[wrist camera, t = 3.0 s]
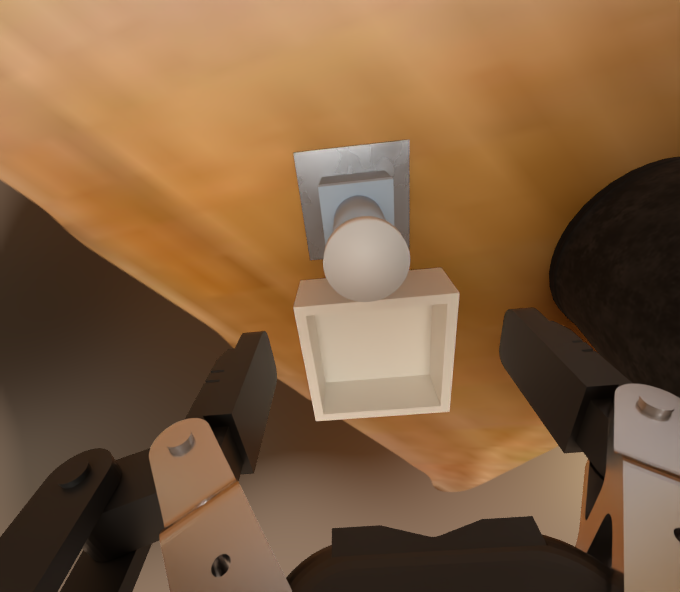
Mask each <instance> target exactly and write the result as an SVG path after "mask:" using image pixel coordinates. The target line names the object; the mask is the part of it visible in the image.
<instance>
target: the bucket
mask: <svg viewBox="0 0 680 592" xmlns="http://www.w3.org/2000/svg"><path fill="white" fill-rule="evenodd" d="M549 280H550V290H551V293H552V296H553V300H554V301H555V303H556V305H557V306H558V308H559V309H560V310H561V311H562V312H563V313H564V314H565V316H566V317H567V318H568V319H569V320H571V321H572V322H573V323H575V325H576V326H577V327H578V328H579V330H580V331H581V332H582V333H583V335H584V336H585V337H586V338H587V340H588V341H589V342H590V343H591V345H592V346H593V347H594V348H595V349H596V351H597V352H598V353H599V354H600V356H602V357H603V358H604V359H605V360H606V361H607V362H609V363H610V364H611V365H612V366H613V367H614V368H616V369H617V370H618V371H619V372H620V373H621V374H623V375H624V376H625V377H626V378H627V379H628V380H630V381H631V382H632V383H633V384H643V385H648V386H653V387H656V388H659V389H662V390H664V391H667V392H669V393H671V394H673V395H675V396H677V397H679V398H680V157H674V158H667V159H662V160H659V161H656V162H652V163H649V164H647V165H644V166H642V167H640V168H637V169H635V170H632V171H631V172H629V173H627V174H625V175H624V176H622V177H620V178H619V179H617V180H615V181H613V182H612V183H610V184H609V185H608V186H606V187H605V188H604V189H602V190H601V191H600V192H598V193H597V194H596V195H595V196H594V197H593V198H592V199H591V200H590V201H588V202H587V203H586V204H585V205H584V206H583V207H582V209H581V210H580V211H579V212H578V213H577V215H576V216H575V217H574V218H573V219H572V220H571V222H570V223H569V224H568V226H567V228H566V229H565V231H564V232H563V234H562V236H561V238H560V240H559V242H558V244H557V246H556V248H555V251H554V254H553V257H552V260H551V266H550V271H549Z"/></svg>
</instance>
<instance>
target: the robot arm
mask: <svg viewBox="0 0 680 592" xmlns="http://www.w3.org/2000/svg"><path fill="white" fill-rule="evenodd" d="M499 354H500V359H501V362H502V364H503V366H504V368H505V369H506V371H507V372H508V374H509V375H510V376H511V378H512V379H513V381H514V382H515V384H516V385H517V386H518V388H519V389H520V391H521V392H522V394H523V395H524V396H525V398H526V399H527V401H528V402H529V404H530V405H531V406H532V408H533V409H534V411H535V412H536V414H537V415H538V416H539V418H540V419H541V421H542V422H543V424H544V425H545V427H546V428H547V429H548V431H549V432H550V434H551V435H552V437H553V438H554V439H555V441H556V442H557V444H558V445H559V447H560V448H561V449H562V451H563V452H564V453H574V452H584V454H585V455H586V456H587V458H588V460H587V463H586V466H585V475H584V486H583V496H582V507H581V518H580V527H579V533H578V538H577V542H576V546H575V547H574V546H572V545H570V544H568V543H566V542H563V541H561V540H558V539H555V538H552V537H549V536H546V535H542V534H541V532H540V531H539V528H538V526H537V524H536V523H535V521H534V519H533V517H532V516H528V517H512V518H495V519H482V520H479V521H476V522H474V523H472V524H469V525H466V526H464V527H461V528H459V529H456V530H453V531H451V532H448V533H446V534H443V535H441V536H437V537H428V536H423V535H420V534H415V533H411V532H406V531H402V530H398V529H393V528H389V527H385V526H363V527H347V528H333V529H332V545H330V546H328V547H326V548H323V549H321V550H319V551H317V552H316V553H314V554H312V555H311V556H309V557H308V558H307V559H305V560H304V561H303V562H301V563H300V564H299V565H298V566H297V567H296V568H295V569H294V570H293V571H292V572H291V573H290V574H289V575H288V576H287V577H285V575H284V574H283V571H282V569H281V567H280V565H279V563H278V561H277V559H276V557H275V555H274V553H273V551H272V549H271V547H270V545H269V543H268V541H267V539H266V537H265V535H264V533H263V531H262V529H261V527H260V525H259V523H258V521H257V519H256V517H255V515H254V513H253V511H252V508H251V507H250V504H249V502H248V500H247V499H246V496H245V494H244V493H243V491H242V488H241V486H240V484H239V482H238V481H239V478H240V474H252V473H254V471H255V467H256V463H257V459H258V455H259V451H260V447H261V443H262V439H263V435H264V431H265V427H266V423H267V419H268V415H269V411H270V407H271V403H272V398H273V395H274V391H275V387H276V382H277V371H276V365H275V361H274V357H273V353H272V350H271V346H270V342H269V338H268V335H267V333H266V332H265V331H261V332H250V333H243V334H242V335H241V337H240V339H239V341H238V343H237V345H236V347H235V349H228V350H227V351H226V352H224V353H223V354H222V355H221V356H220V357H219V358H218V359H217V360H216V362H215V364H214V366H213V368H212V370H211V373H210V374H209V375H208V377H207V379H206V383H205V384H203V387H202V388H201V390H200V392H199V394H198V396H197V397H196V400H195V401H194V403H193V405H192V407H191V409H190V411H189V413H188V414H187V416H186V418H185V420H182V421H179V422H177V423H175V424H173V425H171V426H170V427H168V428H167V429H166V430H164V431H163V432H162V433H161V434H160V435H159V436H158V437H157V438H156V440H155V441H154V442H153V444H152V446H151V448H149V449H147V450H144V451H141V452H138V453H135V454H132V455H129V456H126V457H123V458H121V459H118V460H115V459H114V457H113V456H112V454H111V453H110V452H109V451H108V450H106V449H101V448H98V449H91V450H88V451H84V452H82V453H80V454H78V455H76V456H74V457H72V458H70V459H69V460H67V461H66V462H64V463H63V464H61V465H60V466H59V467H58V468H57V469H55V470H54V471H53V472H52V473H51V474H50V475H49V476H48V477H47V479H46V480H45V481H44V482H43V484H42V485H41V486H40V487H39V489H38V490H37V491H36V492H35V494H34V495H33V496H32V498H31V499H30V500H29V501H28V503H27V504H26V505H25V506H24V508H23V509H22V510H21V511H20V513H19V514H18V515H17V517H16V518H15V519H14V520H13V522H12V523H11V524H10V525H9V527H8V528H7V529H6V531H5V532H4V533H3V534H2V536H1V537H0V592H58V590H59V588H60V586H61V584H62V583H63V581H64V579H65V577H66V576H67V574H68V572H69V570H70V569H71V567H72V565H73V563H74V561H75V560H76V558H77V556H78V555H79V553H80V551H81V549H82V548H83V552H82V554H81V555H80V557H79V559H78V561H77V562H76V564H75V566H74V568H73V570H72V571H71V573H70V575H69V577H68V578H67V580H66V582H65V584H64V586H63V587H62V589H61V591H60V592H132V591H133V589H134V586H135V584H136V581H137V579H138V576H139V574H140V571H141V569H142V567H143V564H144V561H145V559H146V556H147V554H148V552H149V549H150V547H151V544H152V543H154V542H156V541H159V540H160V546H161V551H162V555H163V560H164V565H165V570H166V575H167V580H168V584H169V589H170V592H680V398H679V397H677V396H675V395H673V394H671V393H669V392H667V391H664V390H662V389H659V388H656V387H653V386H648V385H643V384H633V383H632V382H631V381H630V380H628V379H627V378H626V377H625V376H624V375H623V374H621V373H620V372H619V371H618V370H617V369H616V368H614V367H613V366H612V365H611V364H610V363H609V362H607V361H606V360H605V359H604V358H603V357H602V356H600V355H599V354H598V353H597V352H596V351H593V349H592V348H591V347H590V346H589V345H588V344H587V343H585V342H583V341H582V339H581V338H580V337H578V336H577V335H576V334H575V333H574V332H573V331H571V330H570V329H568V328H566V327H564V326H562V325H560V324H558V323H556V322H554V321H549V320H548V319H547V318H546V317H544V316H543V315H542V314H541V313H540V312H539V311H538V310H537V309H535V308H533V307H531V308H520V309H509V310H507V311H506V313H505V316H504V321H503V328H502V334H501V340H500V347H499Z"/></svg>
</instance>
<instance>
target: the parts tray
mask: <svg viewBox="0 0 680 592" xmlns="http://www.w3.org/2000/svg"><path fill="white" fill-rule="evenodd" d="M459 294H460V293H459V291H458V290H457V289H456V287H455V286H454V284H453V283H452V282H451V280H450V279H449V278H448V276H447V275H446V273H445V272H444V271H443V269H442V268H430V269H419V270H409V271H408V274H407V277H406V278H405V280H404V282H403V283H402V285H401V286H400V287H399V288H398V289H397V290H396V291H395V292H394V293H392V294H391V295H389V296H387V297H385V298H383V299H380V300H377V301H372V302H358V301H353V300H350V299H347V298H345V297H343V296H342V295H340V294H339V293H337V292H336V291H335V290H334V289H333V288H332V287H331V285H330V284H329V282H328V280H327V279H326V278H322V279H311V280H300V284H299V288H298V292H297V296H296V299H295V303H294V307H293V308H294V313H295V318H296V323H297V329H298V334H299V339H300V344H301V349H302V354H303V359H304V364H305V369H306V374H307V379H308V384H309V389H310V394H311V399H312V404H313V409H314V414H315V419H316V421H324V420H339V419H353V418H367V417H382V416H396V415H410V414H425V413H439V412H449V411H450V399H451V388H452V376H453V364H454V352H455V341H456V329H457V317H458V305H459Z"/></svg>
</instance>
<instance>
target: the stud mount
mask: <svg viewBox="0 0 680 592" xmlns="http://www.w3.org/2000/svg"><path fill="white" fill-rule="evenodd" d="M293 154H294V160H295V167H296V173H297V179H298V186H299V192H300V198H301V205H302V211H303V217H304V224H305V230H306V237H307V243H308V249H309V256H310V260H319V259H324V251H325V246H326V245H325V237H324V230H323V222H322V214H321V207H320V199H319V191H318V186H319V183H320V180H321V178H322V177H326V176H335V175H344V174H354V173H363V172H372V171H381V170H385V171H386V172H387V173H388V174H389V175H390V176H391V177H392V178H393V184H394V226H395V227H396V228H397V229H398V231H399V232H400V233H401V235H402V237H403V238H404V240H405V242H406V244H407V246H408V249H409V140H399V141H390V142H381V143H372V144H363V145H355V146H346V147H337V148H328V149H319V150H310V151H302V152H294V153H293Z"/></svg>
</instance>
